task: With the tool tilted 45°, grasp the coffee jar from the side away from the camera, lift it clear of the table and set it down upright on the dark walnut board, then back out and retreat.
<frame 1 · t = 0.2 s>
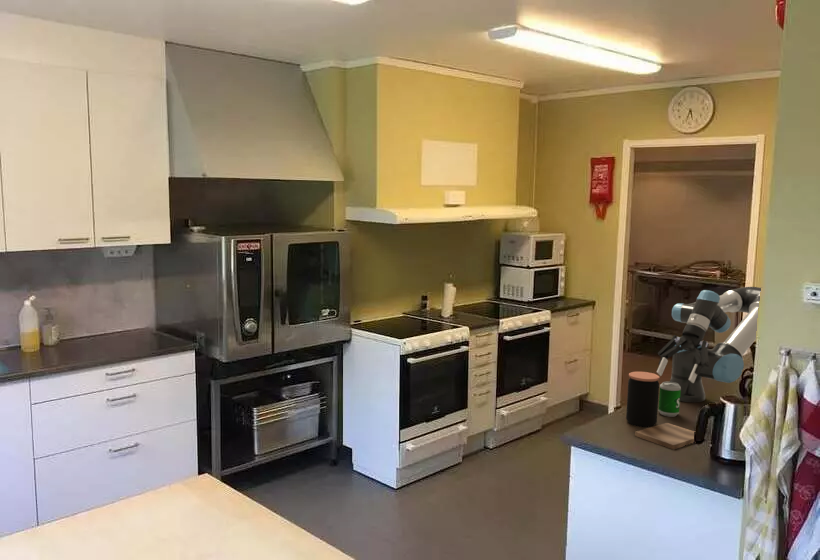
hand: (674, 377, 251), 16 cm above the countertop, tool tilted 35°, fingers open, 13 cm apart
coffee jar: (641, 423, 246), on the countertop
walnut board: (669, 437, 231), on the countertop
soda can: (668, 414, 257), on the countertop
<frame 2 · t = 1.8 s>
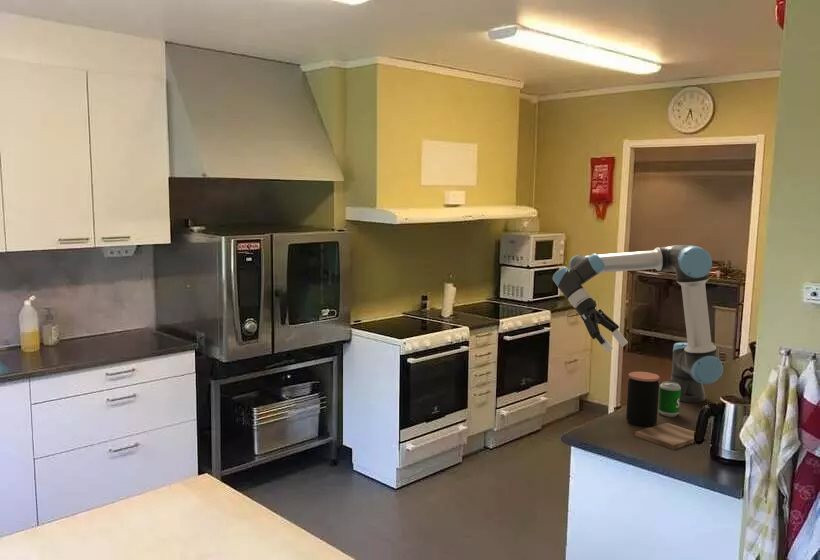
hand: (617, 347, 249), 27 cm above the countertop, tool tilted 45°, fingers open, 13 cm apart
nothing on the countertop moved.
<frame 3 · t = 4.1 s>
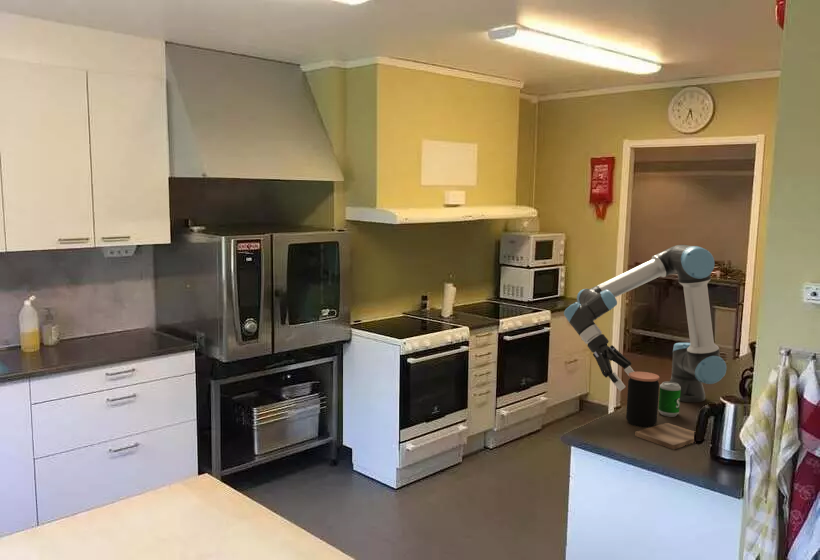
hand: (630, 385, 247), 13 cm above the countertop, tool tilted 45°, fingers open, 13 cm apart
nothing on the countertop moved.
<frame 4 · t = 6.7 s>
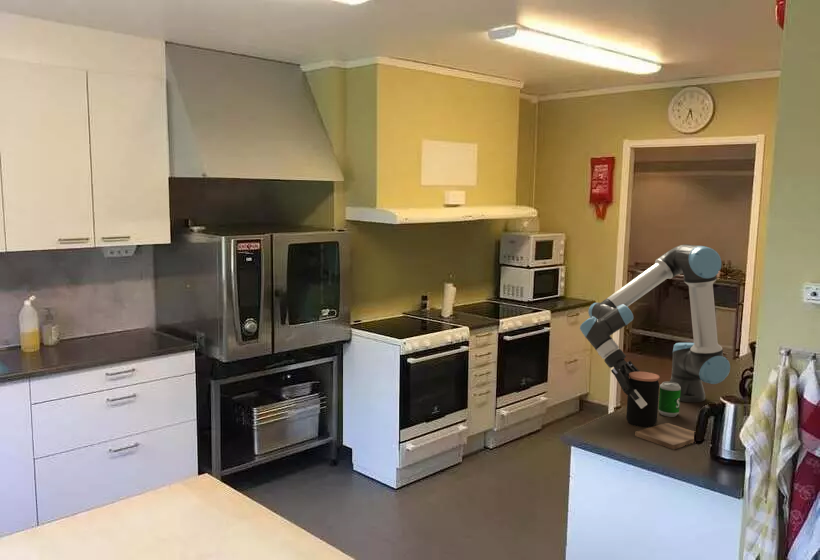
hand: (650, 403, 243), 8 cm above the countertop, tool tilted 45°, fingers closed on coffee jar, 11 cm apart
coffee jar: (641, 423, 246), on the countertop, touching gripper
everything else where it was.
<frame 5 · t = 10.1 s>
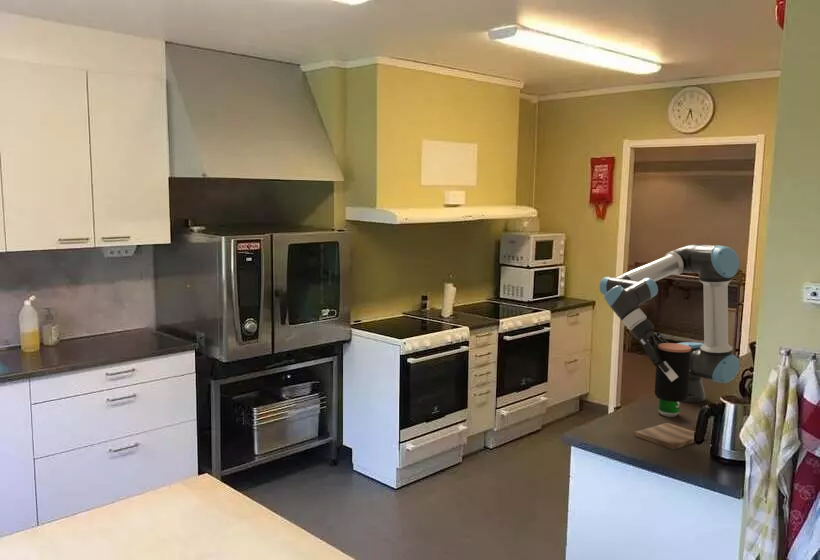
hand: (681, 376, 227), 22 cm above the countertop, tool tilted 45°, fingers closed on coffee jar, 11 cm apart
coffee jar: (670, 398, 230), point 14 cm above the countertop, touching gripper
everything else where it was.
when the fingers open (11 cm above the countertop, at t = 13.8 s): coffee jar drops 1 cm, resting on walnut board.
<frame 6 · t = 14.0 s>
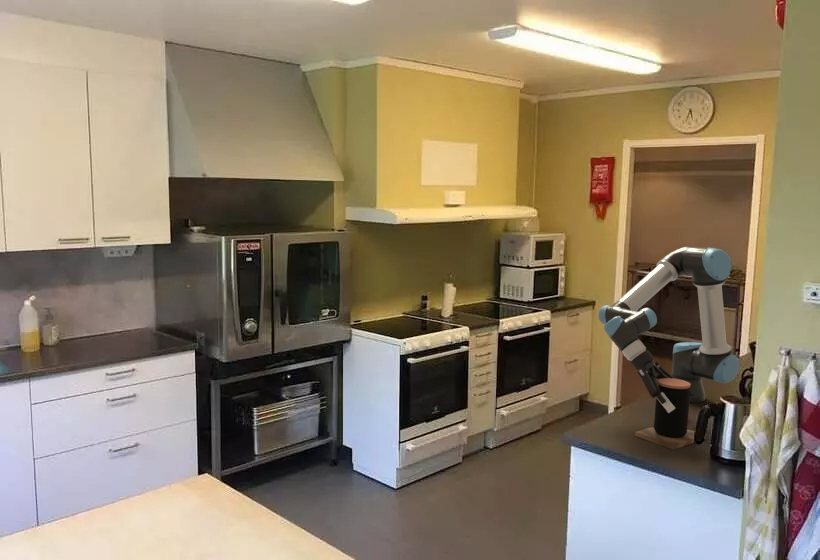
hand: (679, 406, 228), 12 cm above the countertop, tool tilted 45°, fingers open, 13 cm apart
coffee jar: (669, 433, 231), point 1 cm above the countertop, touching walnut board
everything else where it was.
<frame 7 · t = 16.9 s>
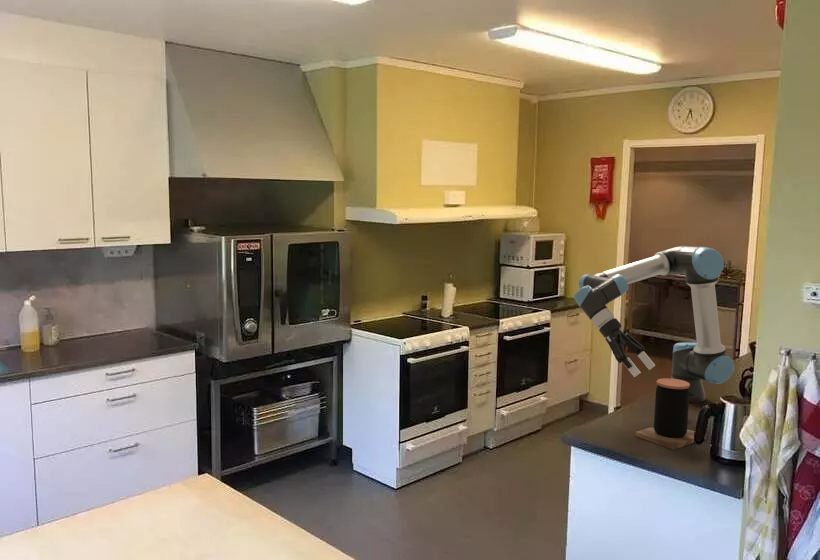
hand: (645, 371, 235), 21 cm above the countertop, tool tilted 45°, fingers open, 13 cm apart
nothing on the countertop moved.
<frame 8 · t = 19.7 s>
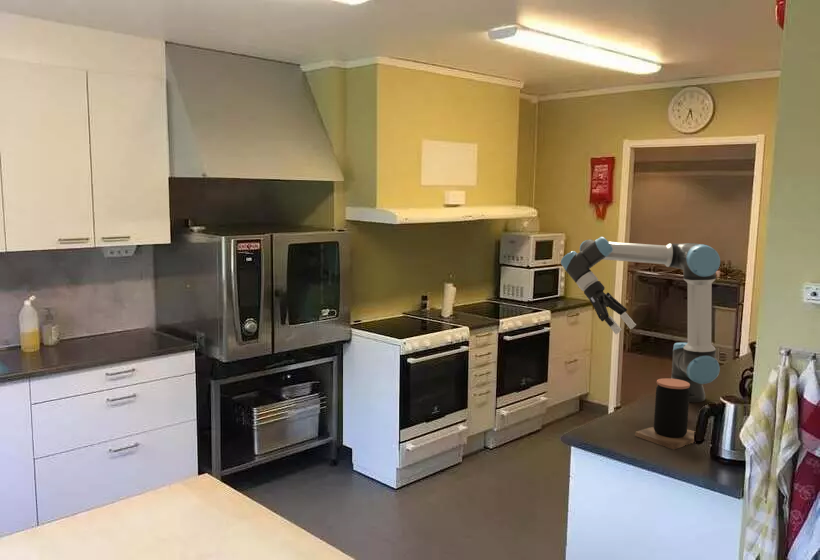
hand: (626, 329, 252), 33 cm above the countertop, tool tilted 45°, fingers open, 13 cm apart
nothing on the countertop moved.
at the end: coffee jar inside the target area on the walnut board (0.1 cm from its centre), point 1.3 cm above the walnut board's base; coffee jar tilted 0°; the gripper is holding nothing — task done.
